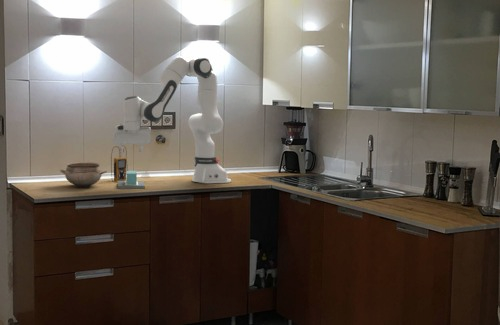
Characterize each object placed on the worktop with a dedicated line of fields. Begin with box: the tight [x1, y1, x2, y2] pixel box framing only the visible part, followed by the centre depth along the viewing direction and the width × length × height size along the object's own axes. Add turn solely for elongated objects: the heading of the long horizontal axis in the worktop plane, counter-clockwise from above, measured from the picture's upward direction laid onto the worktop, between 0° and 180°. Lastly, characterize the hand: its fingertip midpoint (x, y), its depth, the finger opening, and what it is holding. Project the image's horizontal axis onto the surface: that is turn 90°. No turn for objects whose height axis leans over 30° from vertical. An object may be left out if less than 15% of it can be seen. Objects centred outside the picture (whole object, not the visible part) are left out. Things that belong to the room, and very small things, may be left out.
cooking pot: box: [59, 161, 108, 188], centre depth 361 cm, size 25×19×12 cm
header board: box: [117, 180, 146, 190], centre depth 368 cm, size 14×18×6 cm
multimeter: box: [110, 145, 129, 183], centre depth 384 cm, size 15×10×20 cm
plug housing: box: [126, 170, 138, 185], centre depth 368 cm, size 5×11×6 cm, turn 11°
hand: (131, 152), depth 366 cm, fingers open, 8 cm apart
